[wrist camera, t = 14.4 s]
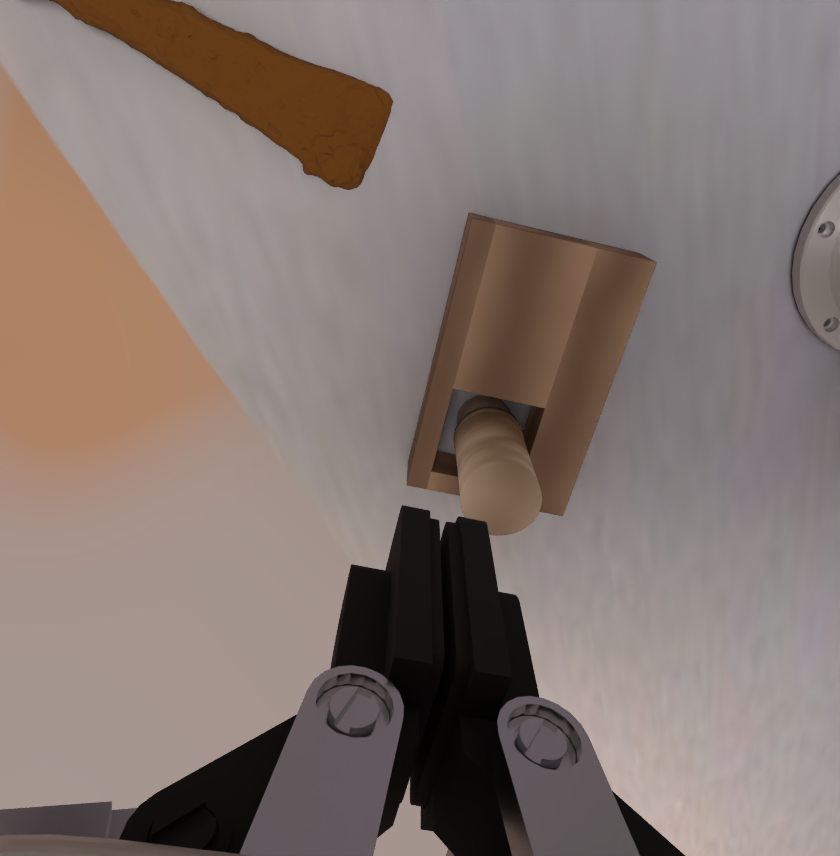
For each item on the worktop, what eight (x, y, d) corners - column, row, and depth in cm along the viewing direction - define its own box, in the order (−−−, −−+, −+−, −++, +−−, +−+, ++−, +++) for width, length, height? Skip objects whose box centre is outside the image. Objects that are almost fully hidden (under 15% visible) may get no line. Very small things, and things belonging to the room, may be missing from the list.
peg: (524, 397, 40) (553, 473, 31) (506, 454, 42) (529, 543, 33) (460, 384, 40) (471, 457, 31) (445, 442, 41) (451, 527, 32)
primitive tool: (396, 97, 34) (393, 93, 30) (357, 197, 36) (350, 204, 32) (27, -91, 30) (-20, -117, 27) (8, 31, 33) (-37, 21, 29)
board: (639, 253, 36) (656, 262, 34) (553, 492, 43) (562, 516, 40) (468, 212, 35) (472, 218, 33) (407, 462, 42) (406, 485, 39)
